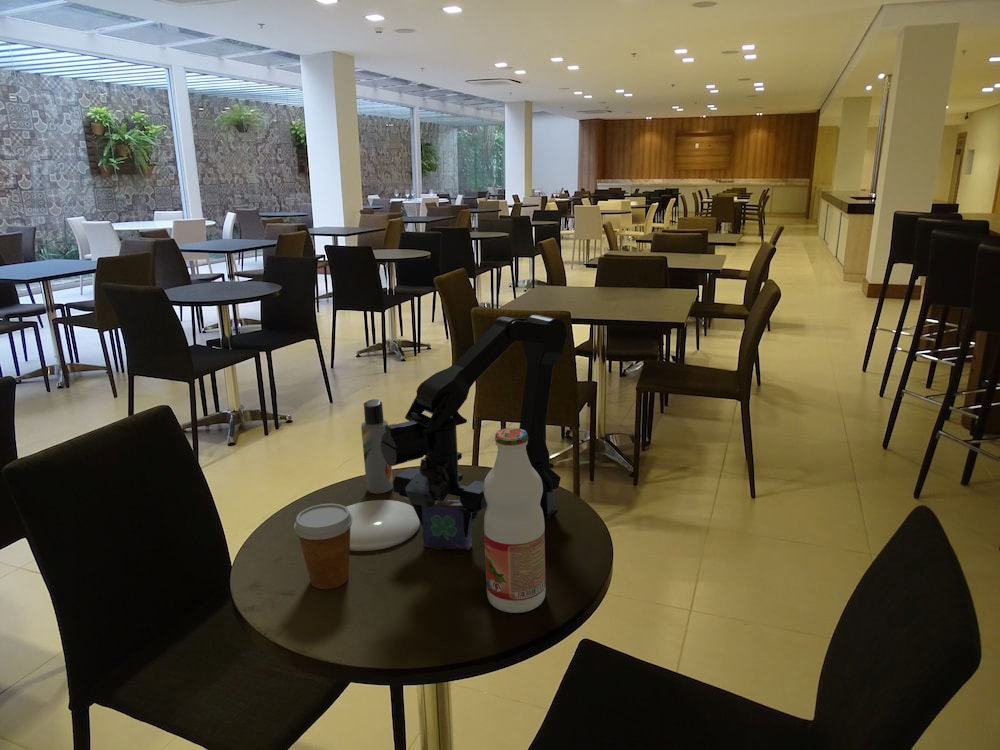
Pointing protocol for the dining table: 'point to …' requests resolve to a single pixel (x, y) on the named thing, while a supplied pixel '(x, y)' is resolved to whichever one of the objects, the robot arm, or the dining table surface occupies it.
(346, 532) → the disposable coffee cup
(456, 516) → the flask
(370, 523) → the plate
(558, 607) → the dining table surface
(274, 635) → the dining table surface
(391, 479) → the lotion bottle
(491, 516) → the fruit juice
